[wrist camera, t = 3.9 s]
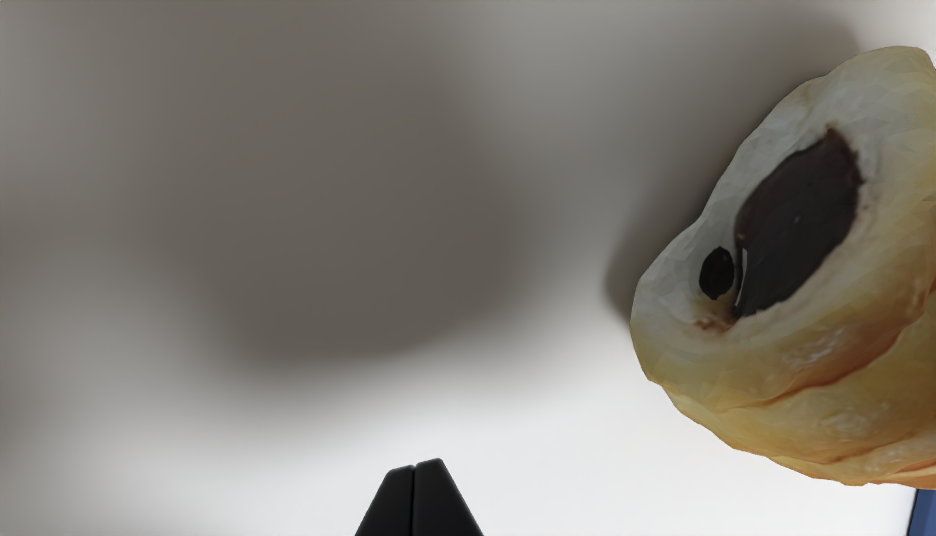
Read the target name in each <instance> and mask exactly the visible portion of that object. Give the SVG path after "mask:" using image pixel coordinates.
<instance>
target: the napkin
mask: <svg viewBox="0 0 936 536" xmlns="http://www.w3.org/2000/svg"><path fill="white" fill-rule="evenodd" d="M909 536H936V490H927V489H919V493H918V497H917V502H916V506H915V510H914V515H913V519H912V523H911V528H910V532H909Z"/></svg>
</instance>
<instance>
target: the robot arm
mask: <svg viewBox="0 0 936 536" xmlns="http://www.w3.org/2000/svg"><path fill="white" fill-rule="evenodd" d="M355 536H484V535H483V533H482V532H481V530H480V528H479V526H478V524H477V523H476V521H475V519H474V517H473V515H472V513H471V512H470V510H469V508H468V506H467V504H466V503H465V501H464V499H463V497H462V495H461V493H460V492H459V490H458V488H457V486H456V484H455V483H454V481H453V479H452V477H451V475H450V473H449V472H448V470H447V468H446V466H445V464H444V463H443V461H442V460H441V459H440V458H436V459H432V460H428V461H424V462H420V463H418V464H417V465H416V467H415V466H413V465H408V466H404V467H400V468H396V469H392V470H390V471H389V472H388V473H387V474H386V476H385V478H384V480H383V482H382V484H381V485H380V487H379V489H378V491H377V493H376V495H375V497H374V499H373V501H372V503H371V505H370V507H369V509H368V511H367V512H366V514H365V516H364V518H363V520H362V522H361V524H360V526H359V528H358V530H357V532H356V534H355Z"/></svg>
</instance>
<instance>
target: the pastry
mask: <svg viewBox="0 0 936 536" xmlns="http://www.w3.org/2000/svg"><path fill="white" fill-rule="evenodd" d="M630 333H631V337H632V341H633V346H634V349H635V352H636V354H637V357H638V360H639V362H640V365H641V368H642V370H643V372H644V374H645V375H646V377H647V379H648V380H650V381H652V382H654V383H657V384H659V385H661V386H662V388H663V389H664V390H665V392H666V393H667V395H668V396H669V398H670V399H671V401H672V403H673V404H674V406H675V407H676V408H677V409H678V410H679V411H680V412H681V413H682V414H684V415H685V416H687V417H688V418H690V419H691V420H693V421H694V422H696V423H697V424H700V425H702V426H704V427H705V428H707V429H709V430H710V431H712V432H713V433H714V434H715V435H716V436H717V437H718V438H719V439H721V440H722V441H723V442H725V443H726V444H728V445H729V446H730V447H732V448H733V449H737V450H741V451H746V452H750V453H753V454H756V455H761V456H765V457H767V458H769V459H770V460H772V461H774V462H775V463H777V464H779V465H781V466H784V467H787V468H789V469H792V470H794V471H797V472H799V473H801V474H804V475H806V476H809V477H811V478H816V479H827V480H834V481H838V482H841V483H842V484H844V485H849V486H863V485H865V484H867V483H875V484H882V483H897V484H901V485H905V486H909V487H913V488H917V489H927V490H936V69H935V68H934V66H933V64H932V62H931V59H930V57H929V56H928V54H927V53H926V51H924V50H922V49H920V48H918V47H906V46H892V47H885V48H880V49H876V50H872V51H869V52H865V53H862V54H859V55H857V56H855V57H852V58H850V59H847V60H846V61H844V62H843V63H842V64H840V65H839V66H838V67H836V68H835V69H834V70H832V71H831V72H830V73H828V74H827V75H826V76H822V77H818V78H814V79H811V80H809V81H806V82H804V83H802V84H801V85H799V86H798V87H797V88H795V89H794V90H793V91H792V92H791V93H789V94H788V95H787V96H786V97H785V98H783V99H782V100H781V101H780V102H779V103H778V104H777V105H776V106H775V107H774V108H773V110H772V111H771V112H770V113H769V114H768V116H767V117H766V118H765V119H764V120H763V121H762V123H761V124H760V125H759V126H758V127H757V128H756V129H755V130H754V131H753V132H752V133H751V134H750V135H749V136H748V137H747V138H746V139H745V140H744V142H743V143H742V144H741V145H740V146H739V148H738V149H737V152H736V154H735V156H734V158H733V160H732V162H731V163H730V165H729V166H728V168H727V169H726V171H725V172H724V173H723V175H722V176H721V178H720V179H719V180H718V182H717V184H716V186H715V188H714V190H713V192H712V194H711V196H710V198H709V200H708V202H707V204H706V206H705V208H704V210H703V212H702V214H701V216H700V217H699V218H698V219H697V221H696V222H694V223H693V224H692V225H691V226H690V227H688V228H687V229H685V230H684V231H682V232H681V233H680V234H679V235H678V236H677V237H676V238H674V239H673V240H672V241H671V242H670V243H669V244H668V246H667V247H666V248H665V249H664V250H663V251H662V252H661V253H660V255H659V256H658V257H657V258H656V259H655V260H654V262H653V263H652V264H651V265H650V267H649V268H648V269H647V270H646V271H645V273H644V274H643V275H642V276H641V278H640V280H639V282H638V284H637V287H636V292H635V297H634V301H633V307H632V313H631V319H630Z"/></svg>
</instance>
